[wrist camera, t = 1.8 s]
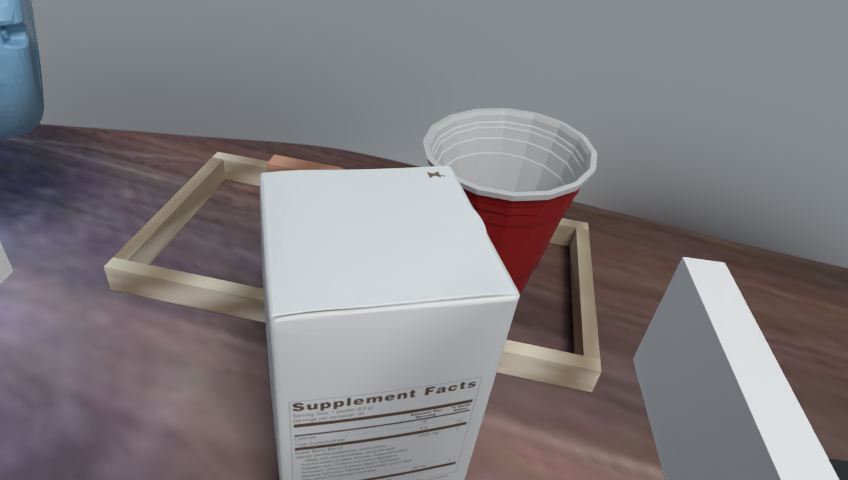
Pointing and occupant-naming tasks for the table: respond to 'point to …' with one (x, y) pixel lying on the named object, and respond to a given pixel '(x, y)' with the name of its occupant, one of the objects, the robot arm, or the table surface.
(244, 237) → the table surface
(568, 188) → the plastic cup
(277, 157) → the wooden frame
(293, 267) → the supplement box
